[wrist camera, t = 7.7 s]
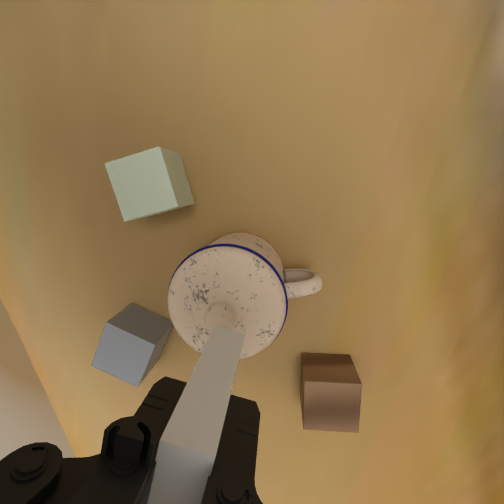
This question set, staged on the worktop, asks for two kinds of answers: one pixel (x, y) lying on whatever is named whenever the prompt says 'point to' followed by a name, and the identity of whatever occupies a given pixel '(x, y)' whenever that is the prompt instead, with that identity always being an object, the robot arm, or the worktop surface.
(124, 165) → the sage block
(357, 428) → the walnut block
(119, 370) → the slate block
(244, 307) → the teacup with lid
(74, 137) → the worktop surface
